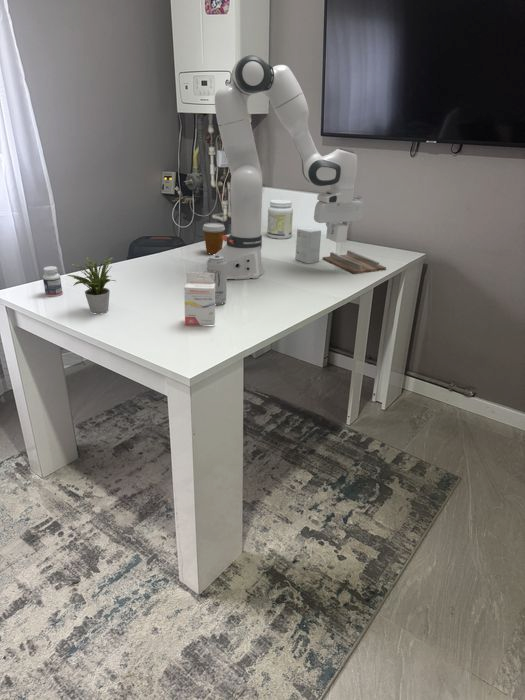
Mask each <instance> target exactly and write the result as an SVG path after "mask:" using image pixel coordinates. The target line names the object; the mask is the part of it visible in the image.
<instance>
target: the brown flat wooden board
mask: <svg viewBox="0 0 525 700" xmlns="http://www.w3.org/2000/svg"><path fill="white" fill-rule="evenodd" d="M329 253H330V254H329V255H328V256H323V257H322V260H323V261H325V262H327V263H329V264H331V265H333V266H335V267H338V268H340V269H342V270H344V271H347V272H348V273H350V274H352V275H357V274H364V273H365V272H366V273H371V271H373V272H379V270H381V271H386V270H387V267H386V266H383V265H382V264H380V262H379V261H376V260H374V259H371V258H368V257H367V256H364V255H362V254H359V253H357V252H355V251H352V250H349V249H348V250H347V251H346V254H337V253H335V252H334V251H331V252H329Z"/></svg>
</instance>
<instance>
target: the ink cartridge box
mask: <svg viewBox="0 0 525 700" xmlns="http://www.w3.org/2000/svg"><path fill="white" fill-rule="evenodd" d="M185 274H186V275H185V276H186V277H185V278H186V282H185V285H184V325H214V324H215V322H216V305H215V282H214V281H215V279H214V277H215V274H214V273H205V272H194V271H193V272H192V271H187V272H185ZM198 277H200V278H198ZM201 277H204V278H201ZM215 325H216V324H215ZM215 325H214V326H215Z"/></svg>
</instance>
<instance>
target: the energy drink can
mask: <svg viewBox="0 0 525 700" xmlns="http://www.w3.org/2000/svg"><path fill="white" fill-rule="evenodd" d="M224 258H225V257H224V256H222V255H209V256H208V259H207V260H206V268H207V273H214V274H215V277H214V279H215V281H214V282H215V304H222V303H224V302H226V301H227V280H226V260H225V259H224ZM224 304H225V303H224ZM222 305H223V304H222Z"/></svg>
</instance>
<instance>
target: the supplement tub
mask: <svg viewBox="0 0 525 700" xmlns="http://www.w3.org/2000/svg"><path fill="white" fill-rule="evenodd" d="M269 205H270V206H269V207H268V208H267V228H266V229H267V230H266V231H267V232H266V234H267V236H268V237H269V238H271V239H275V238H277V239H276V240H286V239H289V238H291V237H292V235H293V234H292V233H293V217H294V216H293V215H294V209H293V207H292V206H293V205H292V200H288V199H271V200H270V201H269Z"/></svg>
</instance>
